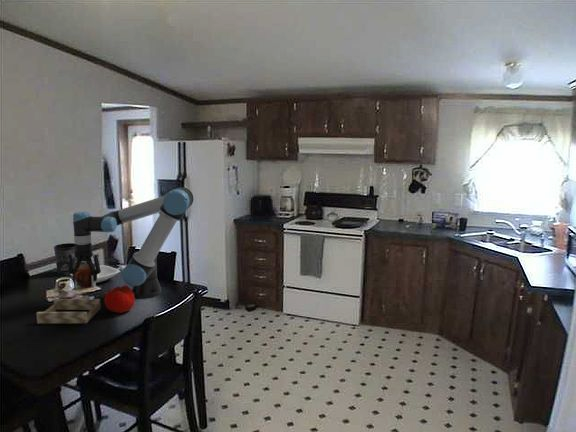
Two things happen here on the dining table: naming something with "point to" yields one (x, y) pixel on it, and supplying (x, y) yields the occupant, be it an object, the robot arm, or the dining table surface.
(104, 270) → the bowl
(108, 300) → the tomato
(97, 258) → the robot arm
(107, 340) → the dining table surface
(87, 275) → the mug
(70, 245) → the planter
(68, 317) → the tan wooden shallow box
